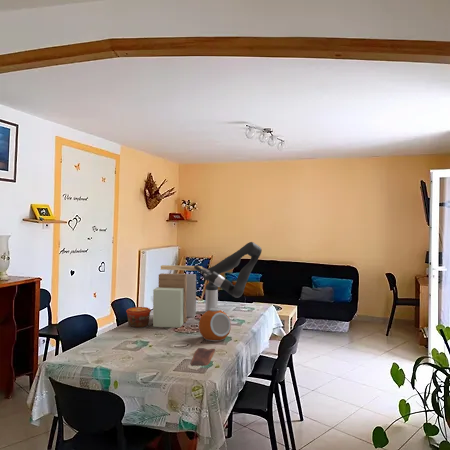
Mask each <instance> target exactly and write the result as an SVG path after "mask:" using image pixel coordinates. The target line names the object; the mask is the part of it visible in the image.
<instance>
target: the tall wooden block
mask: <svg viewBox="0 0 450 450" xmlns="http://www.w3.org/2000/svg"><path fill="white" fill-rule="evenodd" d="M187 274H188V273H164V272H163V273H159V274H158V287H159V288H183V324H186V323H187V322H188V321H189V317H186V299H187Z"/></svg>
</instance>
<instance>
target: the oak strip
mask: <svg viewBox="0 0 450 450" xmlns="http://www.w3.org/2000/svg"><path fill="white" fill-rule="evenodd" d="M194 267H195V265H167V264H165V265H164V264H162V265H160V270H163V271H164V270H166V271H167V270H168V271H169V270H170V271H194V272H195V271H198V270H196V269H195V268H194ZM198 267H199V268H201V269H202V267H203V266H202V265H201V266H200V265H199V266H198ZM198 272H199V271H198Z"/></svg>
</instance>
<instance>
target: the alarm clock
mask: <svg viewBox="0 0 450 450" xmlns="http://www.w3.org/2000/svg"><path fill="white" fill-rule="evenodd" d="M198 329H199V333H200V335H201V336H202V337H203V339H204V340H206V341H210V342H220V341H224V340H225V339H226V338H227V337H228V336H229V335H230V332H231V329H232V322H231V319H230V317H229V315H228V314H227V313H226V312H224V311H223V310H221V309H220V308H211V309H210V310H209V311H207V312H204V313H203V314H202V315H201V317H200V319H199V322H198Z"/></svg>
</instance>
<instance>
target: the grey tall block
mask: <svg viewBox="0 0 450 450" xmlns="http://www.w3.org/2000/svg"><path fill="white" fill-rule="evenodd" d="M186 274H187V299H186V318H195V316H197V315H196V314H197V311H196V310H197V304H196V302H197V274H196V273H195V274H193V273H186Z"/></svg>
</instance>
